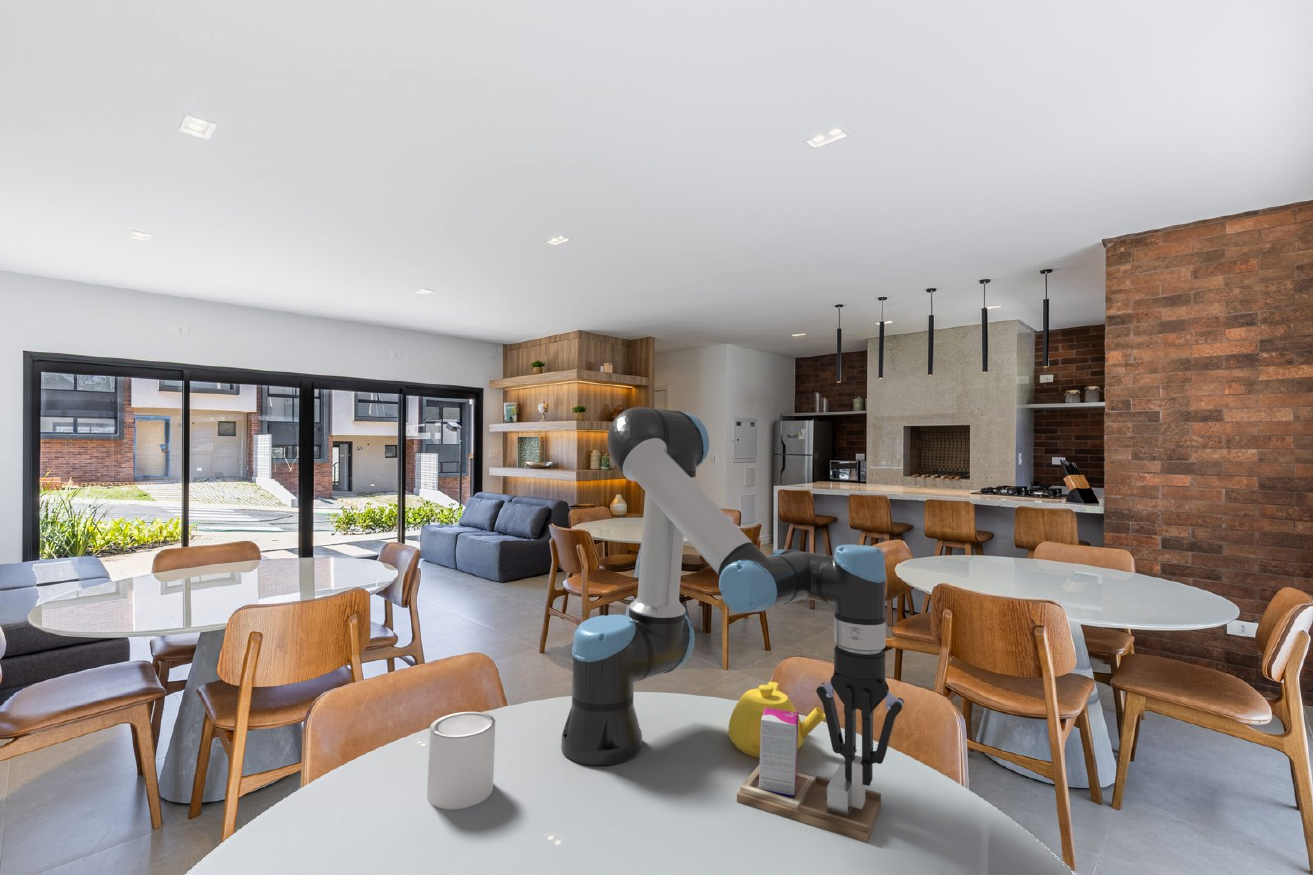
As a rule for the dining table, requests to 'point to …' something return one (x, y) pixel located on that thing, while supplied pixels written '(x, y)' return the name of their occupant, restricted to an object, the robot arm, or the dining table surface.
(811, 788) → the board
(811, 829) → the dining table surface
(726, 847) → the dining table surface
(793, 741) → the supplement box
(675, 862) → the dining table surface
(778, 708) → the teapot
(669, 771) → the dining table surface
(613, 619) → the robot arm
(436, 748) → the mug
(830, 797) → the block
